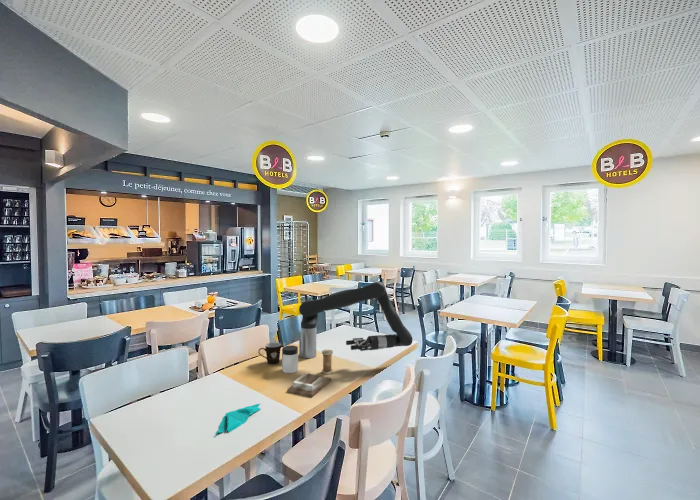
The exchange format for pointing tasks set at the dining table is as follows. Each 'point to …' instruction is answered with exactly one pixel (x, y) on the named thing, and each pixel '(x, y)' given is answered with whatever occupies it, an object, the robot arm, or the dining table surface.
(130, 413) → the dining table surface
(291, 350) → the jar
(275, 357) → the coffee mug
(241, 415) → the cloth
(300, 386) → the brown board with bracket
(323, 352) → the bobbin
